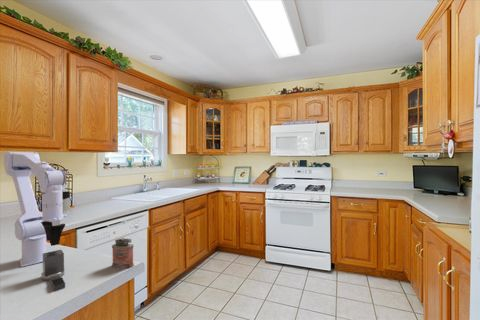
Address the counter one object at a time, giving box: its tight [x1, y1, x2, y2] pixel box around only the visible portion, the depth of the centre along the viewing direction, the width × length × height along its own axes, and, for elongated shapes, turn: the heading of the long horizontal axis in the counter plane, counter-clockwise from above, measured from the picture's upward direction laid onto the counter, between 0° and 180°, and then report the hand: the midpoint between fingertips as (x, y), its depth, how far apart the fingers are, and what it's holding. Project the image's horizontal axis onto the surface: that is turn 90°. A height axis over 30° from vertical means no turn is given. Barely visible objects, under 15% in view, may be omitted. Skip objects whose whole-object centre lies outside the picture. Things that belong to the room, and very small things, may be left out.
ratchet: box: [41, 270, 66, 292], centre depth 76 cm, size 15×6×4 cm, turn 45°
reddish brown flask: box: [111, 237, 135, 269], centre depth 87 cm, size 8×3×10 cm, turn 80°
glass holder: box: [62, 191, 72, 213], centre depth 184 cm, size 9×14×15 cm, turn 166°
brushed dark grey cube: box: [42, 249, 65, 276], centre depth 80 cm, size 5×5×6 cm
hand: (53, 242), depth 85 cm, fingers open, 7 cm apart
